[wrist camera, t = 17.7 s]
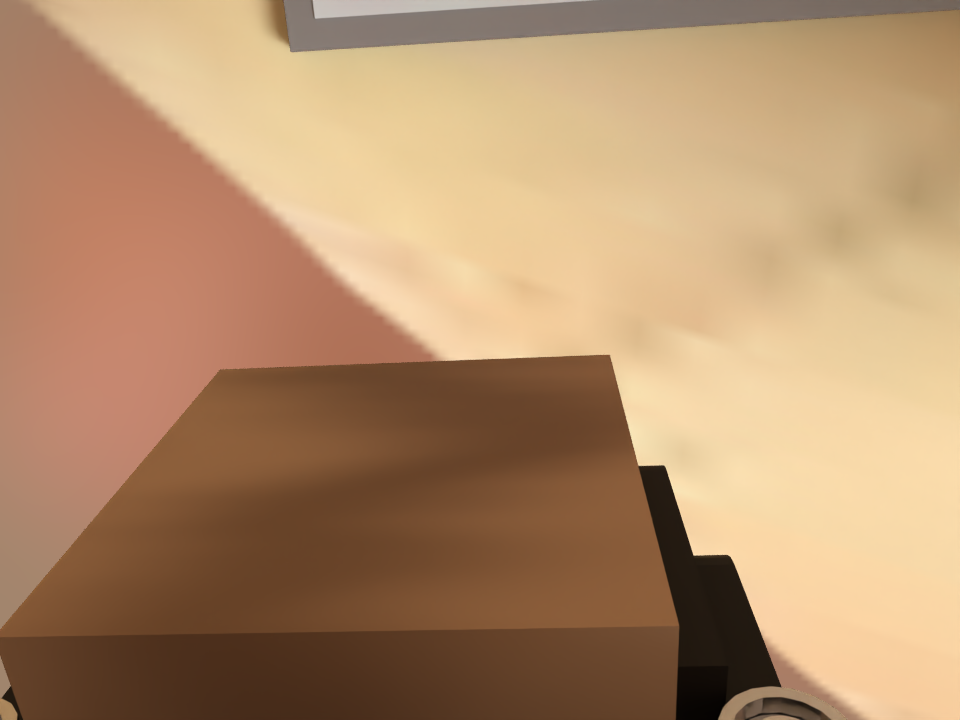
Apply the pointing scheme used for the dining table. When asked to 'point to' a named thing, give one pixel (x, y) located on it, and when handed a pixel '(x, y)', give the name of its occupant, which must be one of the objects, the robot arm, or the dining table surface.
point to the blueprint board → (546, 17)
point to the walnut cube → (367, 557)
